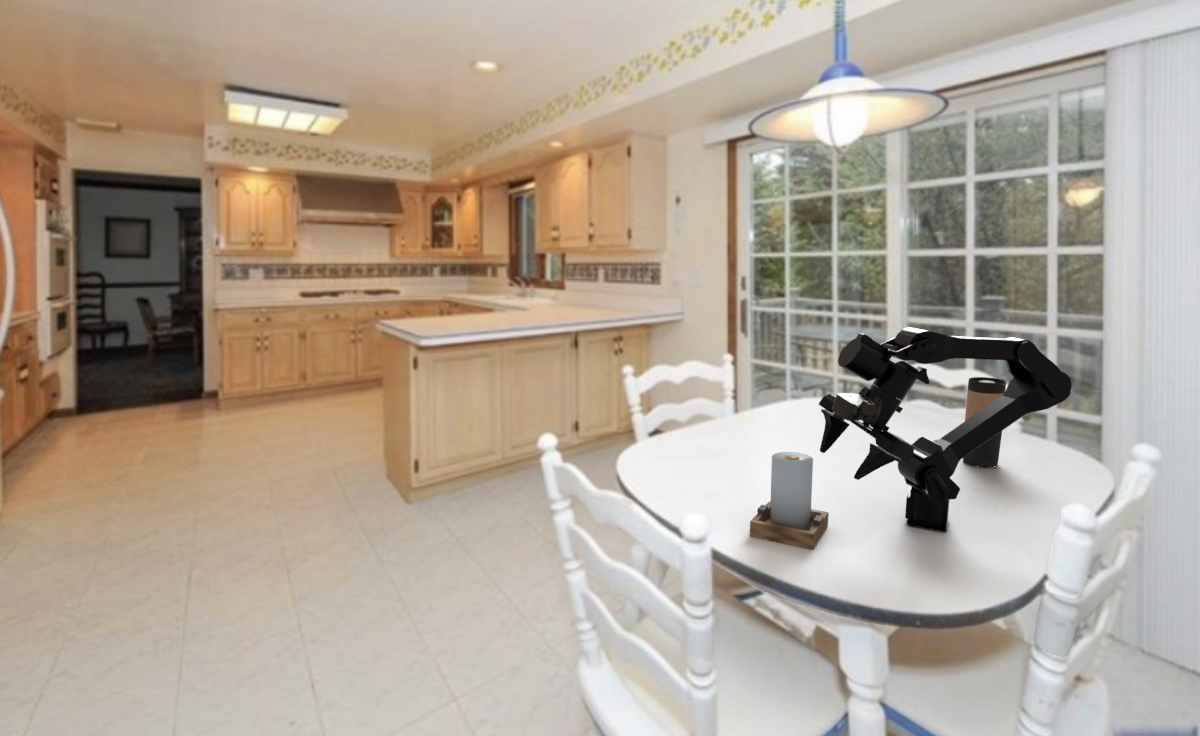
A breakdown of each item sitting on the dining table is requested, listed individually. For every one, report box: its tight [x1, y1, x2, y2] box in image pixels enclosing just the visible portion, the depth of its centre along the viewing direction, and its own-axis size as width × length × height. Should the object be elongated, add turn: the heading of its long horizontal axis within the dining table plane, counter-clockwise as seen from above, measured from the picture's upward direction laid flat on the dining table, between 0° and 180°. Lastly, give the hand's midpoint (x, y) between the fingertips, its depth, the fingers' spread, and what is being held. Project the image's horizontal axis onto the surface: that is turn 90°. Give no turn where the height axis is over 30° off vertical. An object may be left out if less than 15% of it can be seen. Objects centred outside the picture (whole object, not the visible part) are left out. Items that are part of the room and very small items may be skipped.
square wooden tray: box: [749, 500, 829, 551], centre depth 117 cm, size 11×11×4 cm
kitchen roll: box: [770, 451, 814, 531], centre depth 116 cm, size 7×7×13 cm
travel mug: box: [962, 376, 1007, 468], centre depth 151 cm, size 8×8×20 cm
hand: (838, 465), depth 118 cm, fingers open, 9 cm apart
